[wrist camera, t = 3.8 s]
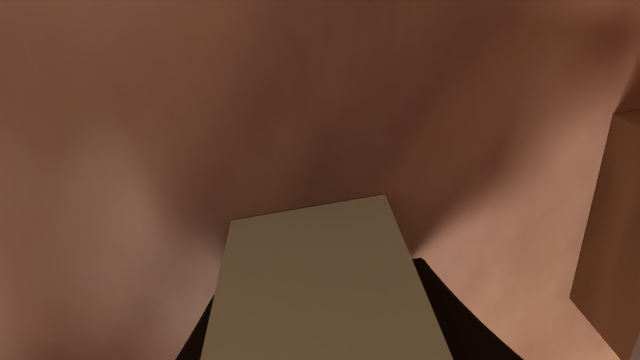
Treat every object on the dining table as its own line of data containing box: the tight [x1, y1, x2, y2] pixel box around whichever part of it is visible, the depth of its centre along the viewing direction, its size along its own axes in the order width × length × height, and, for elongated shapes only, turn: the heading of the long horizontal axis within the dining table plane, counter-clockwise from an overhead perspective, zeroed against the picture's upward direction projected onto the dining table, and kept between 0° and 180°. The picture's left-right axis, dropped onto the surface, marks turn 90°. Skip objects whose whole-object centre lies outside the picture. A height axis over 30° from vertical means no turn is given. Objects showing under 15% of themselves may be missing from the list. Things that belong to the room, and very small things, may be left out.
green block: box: [200, 194, 453, 360], centre depth 10 cm, size 4×4×6 cm
